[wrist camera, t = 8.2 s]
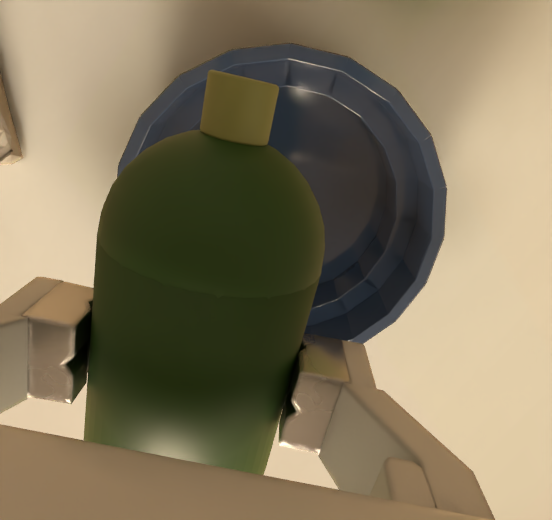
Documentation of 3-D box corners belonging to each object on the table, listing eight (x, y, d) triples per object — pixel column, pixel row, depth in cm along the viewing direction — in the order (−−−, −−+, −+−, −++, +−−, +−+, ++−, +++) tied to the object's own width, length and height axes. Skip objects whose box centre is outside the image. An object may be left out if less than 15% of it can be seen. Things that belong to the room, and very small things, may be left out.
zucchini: (157, 55, 9) (53, 34, 5) (352, 102, 9) (391, 115, 5) (119, 423, 13) (41, 570, 9) (257, 451, 13) (241, 607, 9)
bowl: (170, 22, 22) (130, 3, 17) (452, 90, 23) (501, 93, 18) (141, 281, 28) (105, 330, 23) (368, 329, 29) (385, 388, 23)
